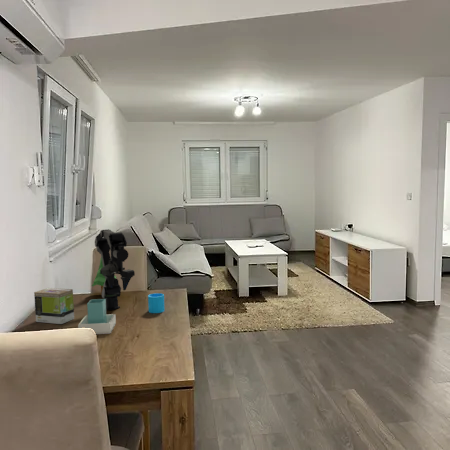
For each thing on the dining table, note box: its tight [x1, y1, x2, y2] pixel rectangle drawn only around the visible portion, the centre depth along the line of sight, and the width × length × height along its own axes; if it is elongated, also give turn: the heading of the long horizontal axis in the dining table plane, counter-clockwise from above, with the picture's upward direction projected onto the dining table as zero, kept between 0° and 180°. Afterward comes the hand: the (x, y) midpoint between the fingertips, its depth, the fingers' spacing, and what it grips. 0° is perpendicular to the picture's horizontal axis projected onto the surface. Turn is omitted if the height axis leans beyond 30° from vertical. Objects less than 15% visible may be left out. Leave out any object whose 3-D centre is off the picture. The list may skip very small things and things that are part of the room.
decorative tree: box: [91, 257, 118, 296], centre depth 255 cm, size 14×16×30 cm
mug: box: [147, 292, 165, 314], centre depth 224 cm, size 12×8×8 cm
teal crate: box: [86, 298, 107, 324], centre depth 195 cm, size 7×7×12 cm
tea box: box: [33, 287, 75, 325], centre depth 209 cm, size 15×10×15 cm
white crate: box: [77, 313, 117, 335], centre depth 195 cm, size 14×14×4 cm
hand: (117, 289), depth 215 cm, fingers open, 9 cm apart
